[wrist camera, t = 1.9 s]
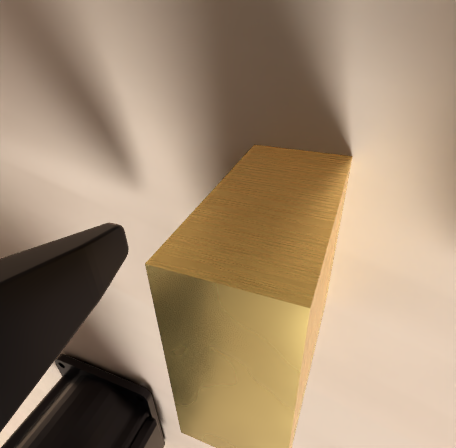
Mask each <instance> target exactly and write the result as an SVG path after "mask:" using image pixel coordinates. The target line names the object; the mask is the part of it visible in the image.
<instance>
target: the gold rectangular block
mask: <svg viewBox="0 0 456 448" xmlns="http://www.w3.org/2000/svg"><path fill="white" fill-rule="evenodd" d="M351 161H352V156H345V155H337V154H329V153H320V152H312V151H303V150H295V149H287V148H278V147H270V146H262V145H254V146H253V147H252V148H251V149H250V150H249V151H248V152H247V153H246V154H245V156H244V157H243V158H242V159H241V160H240V161H239V162H238V163H237V164H236V165H235V166H234V168H233V169H232V170H231V171H230V172H229V173H228V174H227V175H226V176H225V177H224V178H223V179H222V181H221V182H220V183H219V184H218V185H217V186H216V187H215V188H214V189H213V190H212V191H211V193H210V194H209V195H208V196H207V197H206V198H205V199H204V200H203V201H202V202H201V203H200V205H199V206H198V207H197V208H196V209H195V210H194V211H193V212H192V213H191V214H190V215H189V217H188V218H187V219H186V220H185V221H184V222H183V223H182V224H181V225H180V226H179V227H178V228H177V230H176V231H175V232H174V233H173V234H172V235H171V236H170V237H169V238H168V239H167V240H166V242H165V243H164V244H163V245H162V246H161V247H160V248H159V249H158V250H157V251H156V252H155V254H154V255H153V256H152V257H151V258H150V259H149V260H148V261H147V262H146V263H145V266H146V270H147V275H148V280H149V284H150V289H151V294H152V298H153V303H154V308H155V313H156V317H157V322H158V327H159V331H160V336H161V341H162V345H163V350H164V355H165V359H166V364H167V369H168V373H169V378H170V383H171V387H172V392H173V397H174V401H175V406H176V411H177V415H178V420H179V425H180V429H181V432H182V433H184V434H186V435H189V436H191V437H193V438H195V439H198V440H200V441H202V442H204V443H207V444H209V445H211V446H213V447H216V448H292V444H293V440H294V436H295V431H296V427H297V423H298V418H299V414H300V410H301V406H302V401H303V397H304V393H305V389H306V384H307V380H308V376H309V371H310V367H311V363H312V359H313V354H314V350H315V346H316V342H317V337H318V333H319V329H320V324H321V320H322V316H323V312H324V307H325V302H326V297H327V291H328V286H329V281H330V275H331V270H332V264H333V259H334V254H335V248H336V243H337V237H338V232H339V226H340V221H341V216H342V210H343V205H344V199H345V194H346V189H347V183H348V178H349V172H350V167H351Z"/></svg>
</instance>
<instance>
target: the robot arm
mask: <svg viewBox="0 0 456 448" xmlns="http://www.w3.org/2000/svg"><path fill="white" fill-rule="evenodd" d="M127 255H128V244H127V239H126V235H125V231H124V228H123V227H122V226H121V225H118V224H114V223H106V224H103V225H100V226H97V227H94V228H91V229H88V230H85V231H82V232H79V233H76V234H73V235H70V236H67V237H64V238H61V239H58V240H55V241H52V242H49V243H46V244H43V245H40V246H37V247H34V248H31V249H28V250H25V251H23V252H20V253H17V254H14V255H11V256H8V257H5V258H2V259H0V432H1V431H2V429H3V428H4V427H5V425H6V424H7V423H8V422H9V420H10V419H11V418H12V416H13V415H14V414H15V412H16V411H17V410H18V408H19V407H20V406H21V404H22V403H23V402H24V400H25V399H26V398H27V396H28V395H29V394H30V392H31V391H32V390H33V388H34V387H35V386H36V384H37V383H38V382H39V380H40V379H41V378H42V376H43V375H44V374H45V372H46V371H47V370H48V368H49V367H50V366H51V364H52V363H53V362H54V360H55V359H56V358H57V356H58V355H59V354H60V352H61V351H62V350H63V349H64V347H65V346H66V345H67V343H68V342H69V341H70V339H71V338H72V337H73V335H74V334H75V333H76V331H77V330H78V329H79V327H80V326H81V325H82V323H83V322H84V321H85V319H86V318H87V317H88V315H89V314H90V313H91V311H92V310H93V309H94V307H95V306H96V305H97V303H98V302H99V300H100V299H101V298H102V296H103V294H104V293H105V291H106V290H107V288H108V286H109V285H110V283H111V282H112V280H113V278H114V277H115V275H116V273H117V272H118V270H119V268H120V267H121V265H122V263H123V262H124V260H125V259H126V257H127ZM55 363H56V365H57V367H58V369H59V371H60V373H61V375H62V378H61V379H60V380H59V381H58V382H57V383H56V385H55V386H54V387H53V388H52V389H51V390H50V391H49V393H48V394H47V395H46V396H45V397H44V398H43V400H42V401H41V402H40V403H39V404H38V405H37V407H36V408H35V409H34V410H33V411H32V412H31V413H30V415H29V416H28V417H27V418H26V419H25V420H24V422H23V423H22V424H21V425H20V426H19V427H18V428H17V430H16V431H15V432H14V433H13V434H12V435H11V437H10V438H9V439H8V440H7V441H6V442H5V444H4V445H3V446H2V447H1V448H163V447H164V445H165V441H164V437H163V434H162V430H161V427H160V423H159V419H158V416H157V412H156V408H155V405H154V401H153V397H152V394H151V393H150V392H149V391H148V390H147V389H146V388H144V387H142V386H139V385H137V384H135V383H132V382H130V381H127V380H125V379H122V378H120V377H118V376H115V375H113V374H110V373H108V372H105V371H103V370H100V369H98V368H96V367H93V366H91V365H88V364H86V363H83V362H81V361H79V360H76V359H74V358H71V357H69V356H66V355H64V354H60V355H59V356H58V358H57V359H56V360H55Z"/></svg>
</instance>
